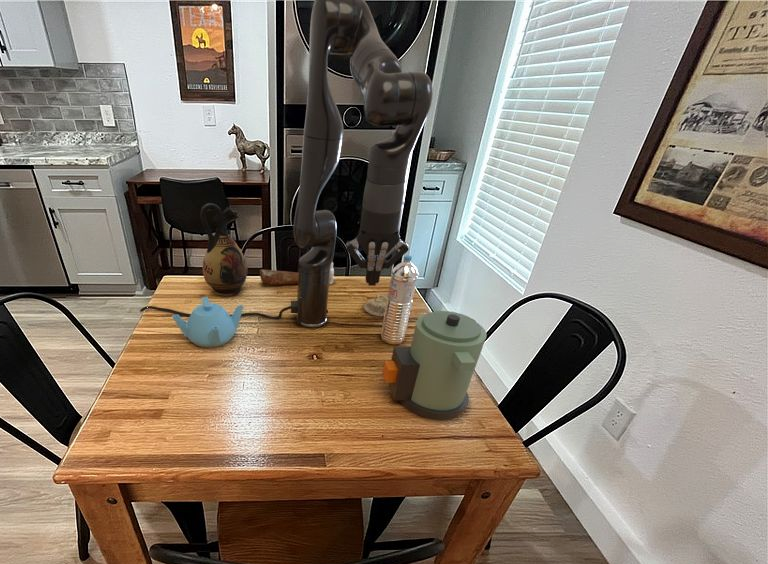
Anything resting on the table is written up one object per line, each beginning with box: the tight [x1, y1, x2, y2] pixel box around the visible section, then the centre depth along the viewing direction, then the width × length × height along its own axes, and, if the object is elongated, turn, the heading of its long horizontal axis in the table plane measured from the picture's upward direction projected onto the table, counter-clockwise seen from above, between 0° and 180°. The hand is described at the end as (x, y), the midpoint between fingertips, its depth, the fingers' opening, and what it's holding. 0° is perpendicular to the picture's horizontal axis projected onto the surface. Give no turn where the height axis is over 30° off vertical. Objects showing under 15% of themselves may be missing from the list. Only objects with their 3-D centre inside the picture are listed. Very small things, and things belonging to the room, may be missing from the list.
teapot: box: [172, 296, 244, 348], centre depth 110 cm, size 15×15×11 cm
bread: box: [259, 269, 298, 286], centre depth 143 cm, size 6×19×6 cm, turn 95°
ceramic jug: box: [199, 202, 248, 297], centre depth 130 cm, size 17×15×30 cm
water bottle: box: [380, 254, 419, 346], centre depth 106 cm, size 7×7×25 cm
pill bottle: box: [329, 261, 335, 285], centre depth 144 cm, size 4×4×8 cm
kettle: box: [387, 310, 488, 421], centre depth 86 cm, size 18×23×22 cm
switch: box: [381, 360, 398, 384], centre depth 87 cm, size 2×4×4 cm, turn 1°
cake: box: [363, 294, 388, 317], centre depth 127 cm, size 10×10×5 cm
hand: (371, 283), depth 84 cm, fingers closed
